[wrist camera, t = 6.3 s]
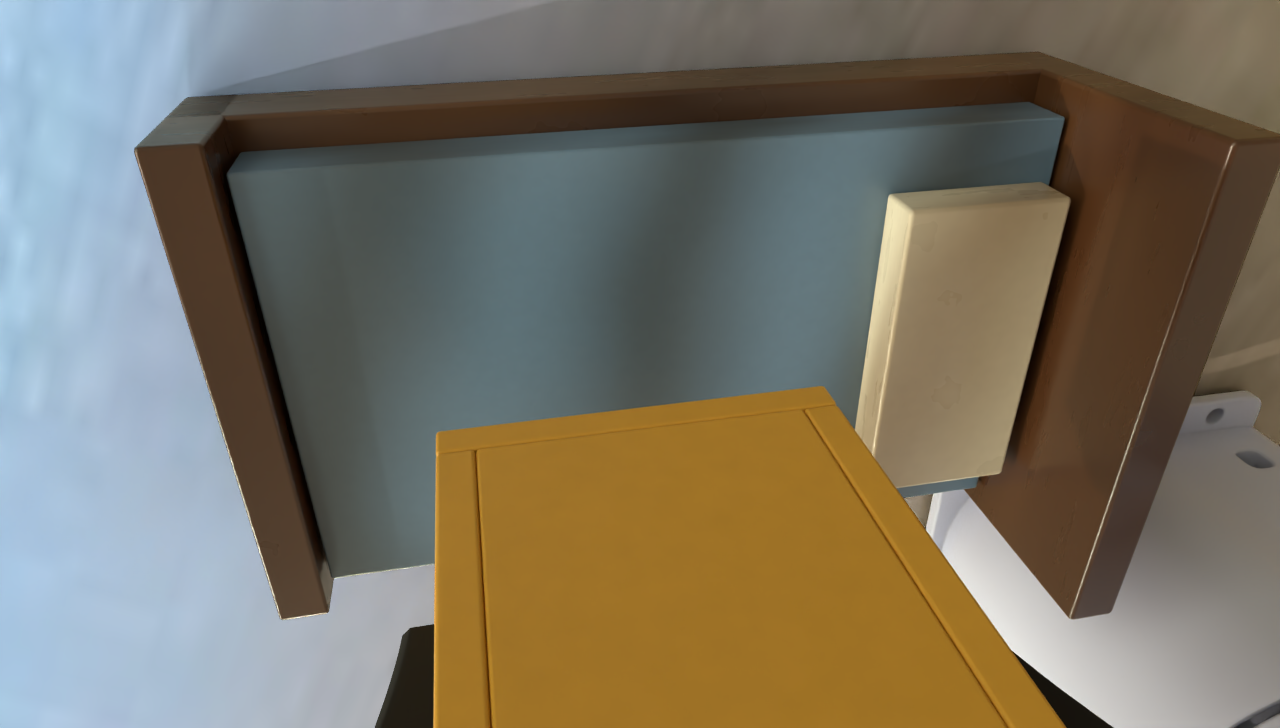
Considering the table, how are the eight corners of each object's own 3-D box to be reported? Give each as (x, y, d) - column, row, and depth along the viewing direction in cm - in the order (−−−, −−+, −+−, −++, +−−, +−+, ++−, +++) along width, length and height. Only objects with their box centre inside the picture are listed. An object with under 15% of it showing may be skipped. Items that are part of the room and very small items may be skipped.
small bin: (824, 383, 12) (1093, 758, 7) (793, 647, 15) (973, 1053, 10) (435, 430, 11) (431, 893, 6) (479, 701, 14) (500, 1173, 9)
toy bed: (1040, 50, 18) (1294, 136, 13) (956, 436, 24) (1113, 614, 18) (184, 97, 16) (45, 230, 10) (300, 521, 21) (250, 763, 15)
